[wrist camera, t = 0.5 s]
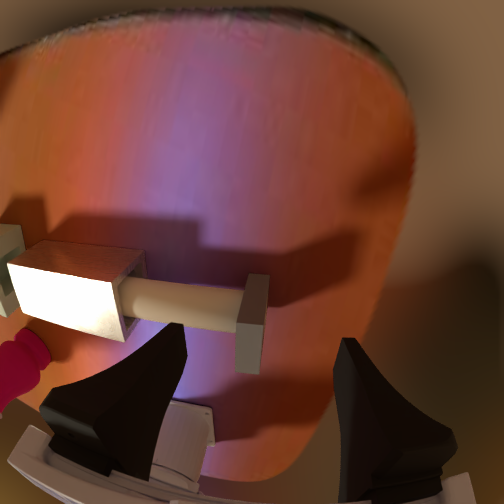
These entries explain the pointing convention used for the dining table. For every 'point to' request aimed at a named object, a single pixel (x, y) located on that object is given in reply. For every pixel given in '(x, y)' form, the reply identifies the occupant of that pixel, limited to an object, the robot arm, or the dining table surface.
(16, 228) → the socket
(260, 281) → the tube
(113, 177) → the dining table surface
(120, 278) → the sleeve
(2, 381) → the pepper mill
